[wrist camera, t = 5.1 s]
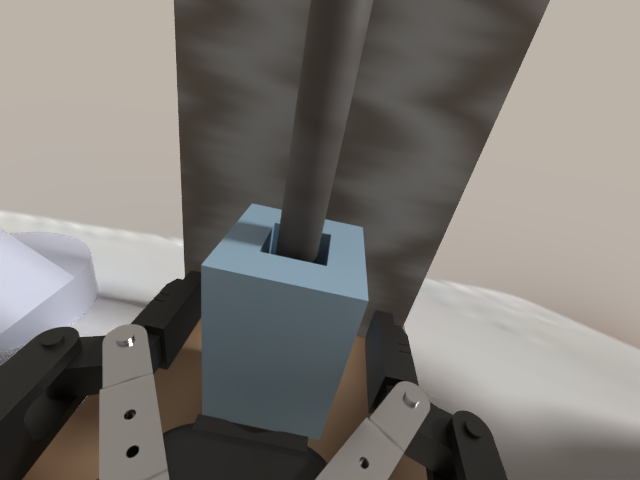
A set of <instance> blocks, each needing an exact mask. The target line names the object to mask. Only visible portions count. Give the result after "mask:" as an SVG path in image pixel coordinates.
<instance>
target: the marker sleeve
mask: <svg viewBox="0 0 640 480" xmlns="http://www.w3.org/2000/svg"><path fill="white" fill-rule="evenodd" d="M281 211H282V210H280V209H275V208H271V207H266V206H262V205H257V204H251V205H250V207H249V208H248V209H247V210H246V212H245V213H244V214H243V215H242V216H241V218H240V219H239V220H238V221H237V222H236V224H235V225H234V226H233V227H232V228H231V230H230V231H229V232H228V233H227V234H226V236H225V237H224V238H223V239H222V240H221V242H220V243H219V244H218V245H217V247H216V248H215V249H214V250H213V251H212V253H211V254H210V255H209V256H208V257H207V259H206V260H205V261H204V262H203V263H202V265H201V326H202V415H206V416H211V417H215V418H220V419H225V420H227V421H229V422H234V423H238V424H243V425H248V426H253V427H257V428H262V429H267V430H272V431H276V432H277V431H283V432H288V433H293V434H297V435H302V436H307V437H308V438H310V439H314V440H320V437H321V435H322V432H323V429H324V426H325V423H326V420H327V417H328V415H329V412H330V409H331V406H332V403H333V400H334V398H335V395H336V392H337V389H338V386H339V383H340V381H341V378H342V375H343V372H344V369H345V366H346V364H347V361H348V358H349V355H350V352H351V349H352V347H353V344H354V341H355V338H356V335H357V332H358V330H359V327H360V324H361V321H362V318H363V315H364V312H365V310H366V307H367V304H368V301H369V300H368V287H367V275H366V262H365V249H364V236H363V227H359V226H354V225H350V224H345V223H340V222H336V221H331V220H326V219H325V222H324V227H323V231H322V236H321V240H320V245H319V249H318V254H317V258H316V263H310V262H305V261H301V260H296V259H291V258H287V257H282V256H277V255H276V247H277V240H278V233H279V226H280V219H281Z"/></svg>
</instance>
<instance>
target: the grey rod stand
mask: <svg viewBox="0 0 640 480" xmlns="http://www.w3.org/2000/svg"><path fill="white" fill-rule="evenodd" d="M549 1H550V0H174V14H175V39H176V63H177V89H178V114H179V138H180V163H181V188H182V212H183V238H184V263H185V277H186V276H187V274H188V273H189V272H190V271H192V270H193V271H198V272H201V265H202V263H203V262H204V261H205V260H206V259H207V257H208V256H209V255H210V254H211V253H212V251H213V250H214V249H215V248H216V247H217V245H218V244H219V243H220V242H221V240H222V239H223V238H224V237H225V236H226V234H227V233H228V232H229V231H230V230H231V228H232V227H233V226H234V225H235V224H236V222H237V221H238V220H239V219H240V218H241V216H242V215H243V214H244V213H245V212H246V210H247V209H248V208H249V207H250V205H251V204H257V205H262V206H266V207H271V208H275V209H280V210H282V211H281V219H280V226H279V233H278V240H277V247H276V255H277V256H282V257H287V258H291V259H296V260H301V261H305V262H310V263H316V258H317V254H318V249H319V245H320V240H321V236H322V231H323V227H324V222H325V219H326V220H331V221H336V222H340V223H345V224H350V225H354V226H359V227H363V236H364V249H365V262H366V275H367V287H368V300H369V301H368V304H367V307H366V310H365V312H364V315H363V318H362V321H361V324H360V327H359V330H358V332H357V335H356V338H355V341H354V344H353V347H352V349H351V352H350V355H349V358H348V361H347V364H346V366H345V369H344V372H343V375H342V378H341V381H340V383H339V386H338V389H337V392H336V395H335V398H334V400H333V403H332V406H331V409H330V412H329V415H328V417H327V420H326V423H325V426H324V429H323V432H322V435H321V437H320V440H314V439H310V438H308V444H307V446H308V447H310V448H312V449H313V450H315V451H316V452H317V453H318V454H320V455H321V456H322V457H323V458H324V459H325V461H326V462H327V463H329V462H330V461H331V460H332V458H333V457H334V456H335V455H336V454H337V452H338V451H339V450H340V449H341V447H342V446H343V445H344V444H345V443H346V441H347V440H348V439H349V438H350V437H351V435H352V434H353V433H354V432H355V430H356V429H357V428H358V427H359V426H360V424H361V423H362V422H363V421H364V420H365V419H366V418H367V417H370V416H371V415H372V413H368V397H367V378H366V359H365V338H366V334H367V331H368V328H369V325H370V323H371V320H372V317H373V315H374V312H375V310H379V311H384V312H389V313H392V315H393V320H394V325H397V326H401V327H402V328H403V330H404V331H405V328H404V323H405V321H406V318H407V316H408V314H409V312H410V310H411V307H412V305H413V303H414V301H415V298H416V296H417V294H418V292H419V290H420V287H421V285H422V283H423V281H424V279H425V276H426V274H427V272H428V270H429V267H430V265H431V263H432V261H433V259H434V256H435V254H436V252H437V250H438V247H439V245H440V243H441V241H442V239H443V236H444V234H445V232H446V230H447V227H448V225H449V223H450V221H451V219H452V216H453V214H454V212H455V210H456V208H457V205H458V203H459V201H460V199H461V196H462V194H463V192H464V190H465V188H466V185H467V183H468V181H469V179H470V177H471V174H472V172H473V170H474V168H475V165H476V163H477V161H478V159H479V157H480V154H481V152H482V150H483V148H484V145H485V143H486V141H487V139H488V137H489V134H490V132H491V130H492V128H493V126H494V123H495V121H496V119H497V117H498V114H499V112H500V110H501V108H502V105H503V103H504V101H505V99H506V97H507V94H508V92H509V90H510V88H511V85H512V83H513V81H514V79H515V77H516V74H517V72H518V70H519V68H520V66H521V63H522V61H523V59H524V57H525V55H526V52H527V50H528V48H529V46H530V43H531V41H532V39H533V37H534V35H535V32H536V30H537V28H538V26H539V23H540V21H541V19H542V17H543V15H544V12H545V10H546V8H547V5H548V3H549ZM154 382H155V388H156V395H157V402H158V408H159V415H160V421H161V428H162V433H164V432H166V431H168V430H170V429H172V428H175V427H178V426H181V425H185V424H190V423H194V422H195V420H196V418H197V416H198V414H201V415H202V326H201V319H200V320H199V322H198V323H197V325H196V326H195V328H194V329H193V331H192V333H191V334H190V336H189V337H188V339H187V340H186V342H185V344H184V345H183V347H182V348H181V350H180V351H179V353H178V355H177V356H176V358H175V359H174V361H173V362H172V364H171V366H170V367H169V369H168V370H165V369H161V368H158V369H157V371H156V372H155V374H154ZM99 396H100V394H97V395H89V396H88V397H87V398H86V399H85V401H84V402H83V403H82V404H81V405H80V406H79V408H78V409H77V410H76V411H75V412H74V414H73V415H72V416H71V417H70V418H69V420H68V421H67V422H66V423H65V425H64V426H63V427H62V429H61V430H60V431H59V432H58V434H57V435H56V436H55V438H54V439H53V440H52V442H51V443H50V444H49V445H48V447H47V448H46V449H45V451H44V452H43V453H42V454H41V456H40V457H39V458H38V460H37V461H36V462H35V464H34V465H33V466H32V467H31V469H30V470H29V471H28V473H27V474H26V475H25V477H24V478H23V479H22V480H96V479H98V478H99ZM231 423H233V424H235V425H236V426H238V427H240V428H242V429H244V430H246V431H248V432H250V433H264V432H276V431H272V430H267V429H262V428H257V427H253V426H248V425H243V424H238V423H234V422H231ZM388 480H427V473H426V467H425V466H423V465H421V464H419V463H418V462H416V461H414V460H413V459H411V458H409V457H407V456H406V455H404V454H403V455H402V457H401V459H400V460H399V462H398V464H397V465H396V467H395V468H394V470H393V472H392V473H391V475H390V477H389V478H388Z"/></svg>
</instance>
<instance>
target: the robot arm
mask: <svg viewBox="0 0 640 480" xmlns="http://www.w3.org/2000/svg"><path fill="white" fill-rule="evenodd" d="M200 319H201V272H198V271H193V270H192V271H190V272H189V273H188V274H187V276H186V277H185V278H184V279H183V280H182V279H176V280H174V281H172V282H170V283H168V284H167V285H166V286H165V287H164V288H163V289H162V290H161V291H160V293H159V294H158V295H157V296H156V297H155V298H154V300H152V301H151V302H150V303H149V304H148V305H147V307H146V308H145V309H144V310H143V311H142V312H141V313H140V314H139V315H138V316H137V317H136V319H135V320H134V321H133V322H132V323H131V324H129V325H123V326H120V327H118V328H116V329H114V330H112V331H111V332H109V333H108V334H107V335H106V336H93V337H79V333H78V331H77V330H76V329H74V328H71V327H57V328H52V329H49V330H47V331H44V332H42V333H40V334H39V335H37V336H36V337H34V338H33V339H32V340H31V341H30V342H28V343H27V344H26V345H25V346H24V347H23V348H22V349H20V350H19V351H18V352H17V353H16V354H15V355H14V356H12V357H11V358H10V359H9V360H8V361H7V362H6V363H4V364H3V365H2V366H1V367H0V480H22V479H23V478H24V477H25V475H26V474H27V473H28V471H29V470H30V469H31V467H32V466H33V465H34V464H35V462H36V461H37V460H38V458H39V457H40V456H41V454H42V453H43V452H44V451H45V449H46V448H47V447H48V445H49V444H50V443H51V442H52V440H53V439H54V438H55V436H56V435H57V434H58V432H59V431H60V430H61V429H62V427H63V426H64V425H65V423H66V422H67V421H68V419H69V418H70V417H71V416H72V414H73V413H74V412H75V410H76V409H77V408H78V406H79V405H80V404H81V403H82V401H83V400H84V399H85V397H86V396H88V395H97V394H100V396H99V478H98V479H96V480H388V478H389V477H390V475H391V473H392V472H393V470H394V468H395V467H396V465H397V464H398V462H399V460H400V459H401V457H402V455H403V454H404V455H406V456H407V457H409V458H411V459H413V460H414V461H416V462H418V463H419V464H421V465H423V466H425V467H426V473H427V480H508V479H507V476H506V474H505V471H504V468H503V465H502V462H501V459H500V456H499V453H498V451H497V448H496V445H495V442H494V439H493V436H492V434H491V432H490V430H489V428H488V427H487V425H486V424H485V423H484V422H483V421H482V420H481V419H480V418H479V417H478V416H476V415H474V414H473V413H471V412H468V411H458V412H456V413H455V414H454V416H453V415H451V414H450V413H448V412H446V411H444V410H442V409H440V408H438V407H436V406H435V405H433V404H432V403H431V402H430V401H429V398H428V396H427V395H426V393H425V392H424V391H423V390H422V389H421V388H420V387H419V385H418V381H417V376H416V372H415V367H414V363H413V358H412V355H411V349H410V347H409V346H410V345H409V340H408V336H407V334H406V333H405V331H404V330H403V328H402V327H401V326H397V325H394V320H393V315H392V313H389V312H384V311H379V310H375V312H374V315H373V317H372V320H371V323H370V325H369V328H368V331H367V334H366V338H365V359H366V378H367V397H368V413H372V415H371V416H370V417H367V418H366V419H365V420H364V421H363V422H362V423H361V424H360V426H359V427H358V428H357V429H356V430H355V432H354V433H353V434H352V435H351V437H350V438H349V439H348V440H347V441H346V443H345V444H344V445H343V446H342V447H341V449H340V450H339V451H338V452H337V454H336V455H335V456H334V457H333V458H332V460H331V461H330V462H329V463H327V462H326V461H325V459H324V458H323V457H322V456H321V455H320V454H318V453H317V452H316V451H315V450H313V449H312V448H310V447H308V446H307V444H308V437H307V436H302V435H297V434H293V433H288V432H283V431H277V432H264V433H250V432H248V431H246V430H244V429H242V428H240V427H238V426H236V425H235V424H233V423H231V422H229V421H227V420H225V419H220V418H215V417H211V416H206V415H201V414H198V416H197V418H196V420H195V422H194V423H190V424H185V425H181V426H178V427H175V428H172V429H170V430H168V431H166V432H164V433H162V428H161V421H160V415H159V408H158V402H157V395H156V388H155V382H154V374H155V372H156V371H157V369H158V368H161V369H165V370H168V369H169V367H170V366H171V364H172V362H173V361H174V359H175V358H176V356H177V355H178V353H179V351H180V350H181V348H182V347H183V345H184V344H185V342H186V340H187V339H188V337H189V336H190V334H191V333H192V331H193V329H194V328H195V326H196V325H197V323H198V322H199V320H200Z"/></svg>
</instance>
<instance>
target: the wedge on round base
mask: <svg viewBox="0 0 640 480" xmlns="http://www.w3.org/2000/svg"><path fill="white" fill-rule="evenodd" d="M97 295H98V284H97V279H96V275H95V270H94V266H93V262H92V257H91V253H90V250H89V248H88V246H87V245H86V244H85V243H83V242H82V241H80V240H78V239H76V238H73V237H70V236H67V235H62V234H56V233H45V232H25V233H12V234H8V233H7V232H5V231H4V230H2V229H1V228H0V351H5V350H10V349H14V348H17V347H21V346H24V345H26V344H27V343H28V342H30V341H31V340H32V339H33V338H34V337H36V336H37V335H39V334H40V333H42V332H44V331H47V330H49V329H52V328H57V327H67V326H69V325H71V324H72V323H73V322H75V321H76V320H78V319H79V318H80V317H81V316H82V315H84V314H85V313H86V312H87V311H88V310H89V309H90V308H91V306H92V305H93V303H94V302H95V300H96V298H97Z"/></svg>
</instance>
